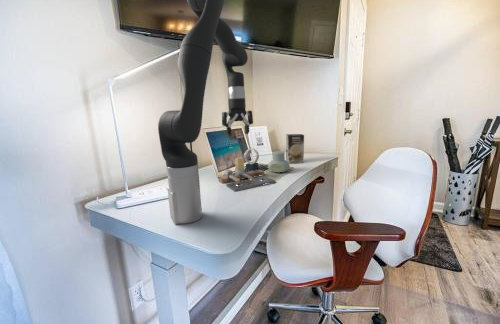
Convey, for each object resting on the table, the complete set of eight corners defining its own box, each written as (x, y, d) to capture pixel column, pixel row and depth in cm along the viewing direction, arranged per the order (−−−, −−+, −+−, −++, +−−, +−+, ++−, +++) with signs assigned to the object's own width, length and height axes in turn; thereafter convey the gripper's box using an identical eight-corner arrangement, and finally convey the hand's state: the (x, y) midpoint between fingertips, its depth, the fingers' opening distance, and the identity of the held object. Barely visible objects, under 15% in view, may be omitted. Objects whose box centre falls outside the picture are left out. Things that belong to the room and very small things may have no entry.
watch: (248, 167, 142) (247, 147, 139) (261, 168, 137) (260, 148, 135) (242, 169, 137) (241, 149, 134) (255, 171, 133) (255, 150, 130)
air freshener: (290, 169, 133) (290, 150, 131) (288, 174, 126) (288, 154, 123) (270, 169, 137) (269, 150, 134) (266, 173, 129) (266, 153, 127)
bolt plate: (234, 191, 104) (234, 188, 103) (226, 186, 111) (226, 183, 110) (275, 182, 113) (275, 180, 113) (265, 178, 120) (265, 176, 120)
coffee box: (288, 163, 146) (288, 135, 142) (285, 161, 152) (285, 134, 149) (303, 163, 146) (304, 135, 143) (301, 160, 153) (301, 133, 149)
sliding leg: (248, 182, 110) (247, 162, 108) (235, 175, 121) (234, 157, 120) (254, 180, 112) (254, 161, 110) (241, 174, 123) (240, 156, 121)
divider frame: (230, 189, 107) (230, 177, 106) (218, 181, 118) (218, 170, 117) (274, 180, 117) (274, 169, 116) (259, 173, 128) (259, 163, 127)
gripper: (225, 97, 106) (227, 137, 110) (255, 97, 112) (256, 134, 116) (218, 98, 112) (220, 135, 116) (246, 97, 119) (248, 132, 123)
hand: (238, 134), depth 116 cm, fingers open, 8 cm apart
